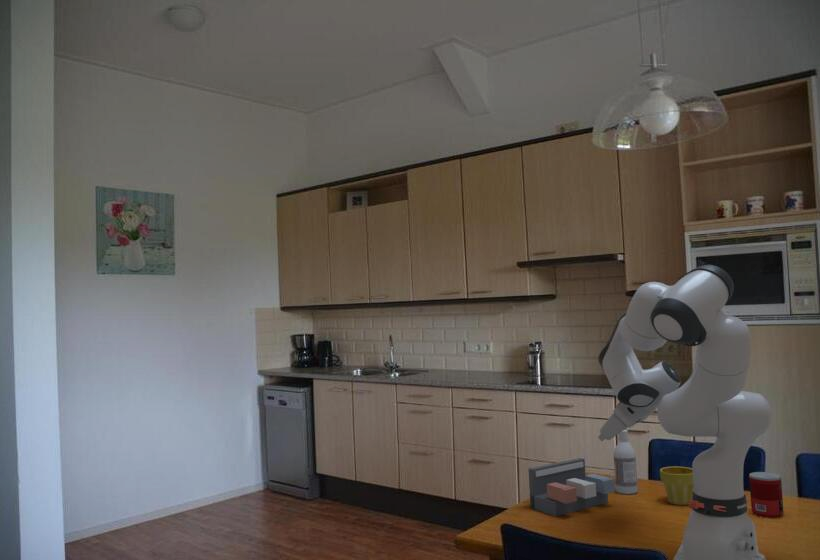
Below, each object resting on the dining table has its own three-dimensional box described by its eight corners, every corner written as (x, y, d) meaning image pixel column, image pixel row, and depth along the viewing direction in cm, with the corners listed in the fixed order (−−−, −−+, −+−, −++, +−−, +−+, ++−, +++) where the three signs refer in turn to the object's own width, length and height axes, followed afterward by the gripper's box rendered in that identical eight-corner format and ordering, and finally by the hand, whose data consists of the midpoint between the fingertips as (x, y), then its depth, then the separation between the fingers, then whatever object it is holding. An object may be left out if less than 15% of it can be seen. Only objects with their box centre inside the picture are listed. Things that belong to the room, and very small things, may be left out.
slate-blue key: (615, 491, 200) (614, 478, 201) (604, 494, 198) (603, 480, 198) (594, 486, 207) (594, 473, 208) (584, 488, 205) (583, 475, 205)
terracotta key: (577, 501, 192) (576, 487, 192) (565, 504, 190) (564, 490, 190) (557, 495, 199) (556, 481, 199) (546, 498, 197) (545, 484, 197)
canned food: (787, 518, 182) (784, 478, 182) (756, 518, 183) (753, 478, 184) (778, 510, 189) (775, 471, 190) (748, 509, 191) (745, 471, 191)
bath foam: (616, 488, 219) (612, 428, 220) (638, 489, 217) (634, 428, 218) (615, 494, 213) (611, 432, 214) (637, 495, 210) (633, 432, 212)
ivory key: (596, 496, 196) (595, 482, 196) (585, 499, 194) (584, 485, 194) (576, 490, 203) (575, 477, 203) (565, 493, 201) (564, 480, 201)
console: (608, 502, 204) (605, 463, 204) (555, 516, 192) (553, 475, 193) (582, 495, 213) (580, 458, 214) (530, 508, 202) (528, 468, 202)
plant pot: (657, 504, 200) (655, 471, 201) (667, 495, 208) (665, 464, 209) (693, 509, 194) (691, 475, 194) (701, 500, 202) (699, 468, 203)
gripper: (642, 384, 195) (614, 410, 203) (613, 410, 180) (584, 437, 189) (658, 399, 193) (629, 426, 201) (630, 427, 178) (600, 454, 186)
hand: (607, 432), depth 195 cm, fingers open, 8 cm apart
